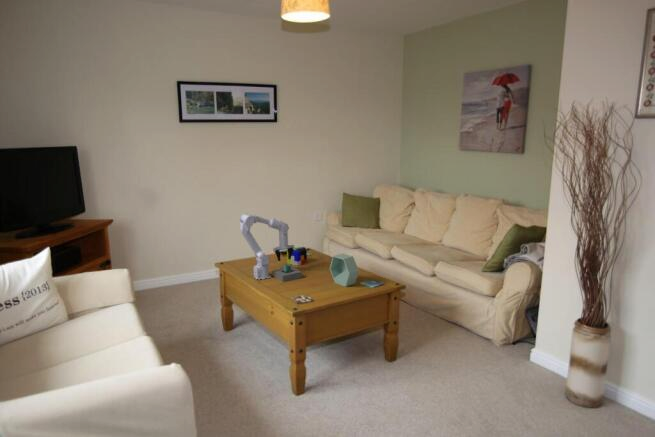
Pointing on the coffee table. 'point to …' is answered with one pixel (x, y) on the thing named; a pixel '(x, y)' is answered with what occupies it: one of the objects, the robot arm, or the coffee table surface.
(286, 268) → the teal peg
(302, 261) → the puzzle toy
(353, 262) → the planter
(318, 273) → the coffee table surface
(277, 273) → the well block
